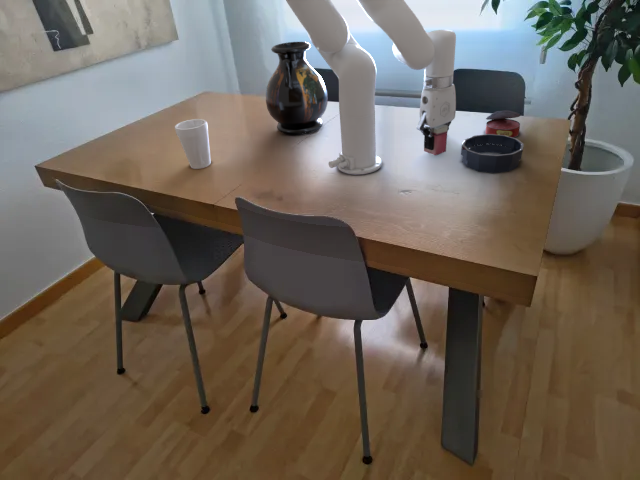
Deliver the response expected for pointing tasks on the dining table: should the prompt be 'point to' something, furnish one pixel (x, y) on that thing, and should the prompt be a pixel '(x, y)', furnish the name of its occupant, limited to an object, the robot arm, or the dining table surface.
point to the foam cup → (195, 142)
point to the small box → (439, 140)
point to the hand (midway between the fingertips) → (435, 145)
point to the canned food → (503, 123)
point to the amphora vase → (295, 91)
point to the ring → (491, 143)
